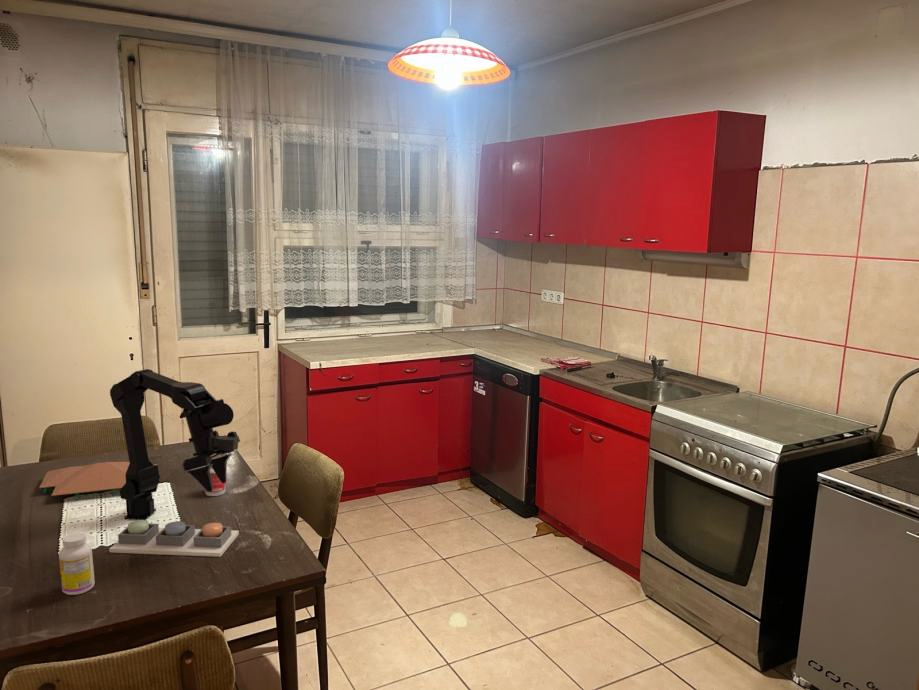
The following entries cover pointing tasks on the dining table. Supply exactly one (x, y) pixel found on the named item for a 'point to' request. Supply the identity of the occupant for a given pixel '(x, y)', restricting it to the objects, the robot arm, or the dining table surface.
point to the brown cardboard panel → (86, 478)
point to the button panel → (174, 542)
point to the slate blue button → (175, 528)
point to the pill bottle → (216, 485)
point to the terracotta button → (212, 530)
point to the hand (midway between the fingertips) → (217, 487)
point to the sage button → (138, 527)
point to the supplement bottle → (76, 564)
